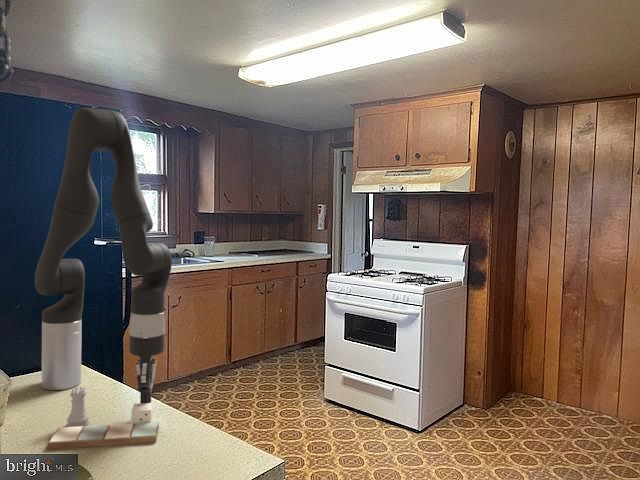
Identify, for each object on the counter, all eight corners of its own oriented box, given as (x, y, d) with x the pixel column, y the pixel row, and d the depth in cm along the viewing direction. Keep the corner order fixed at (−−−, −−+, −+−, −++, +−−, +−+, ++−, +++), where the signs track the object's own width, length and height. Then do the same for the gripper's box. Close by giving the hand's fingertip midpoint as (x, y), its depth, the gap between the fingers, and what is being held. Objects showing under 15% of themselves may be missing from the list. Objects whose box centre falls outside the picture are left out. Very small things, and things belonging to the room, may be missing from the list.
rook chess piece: (80, 431, 104) (80, 394, 103) (61, 428, 105) (62, 391, 104) (93, 422, 108) (94, 386, 108) (75, 420, 109) (76, 384, 109)
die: (133, 421, 110) (134, 403, 109) (152, 420, 111) (152, 402, 110) (131, 429, 106) (131, 410, 106) (150, 428, 107) (151, 409, 106)
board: (58, 433, 102) (58, 426, 102) (158, 427, 107) (158, 421, 107) (47, 449, 96) (47, 442, 96) (155, 442, 100) (156, 435, 100)
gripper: (133, 324, 116) (132, 396, 117) (125, 339, 103) (123, 420, 104) (166, 324, 118) (165, 395, 119) (162, 339, 105) (160, 418, 106)
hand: (145, 406), depth 112 cm, fingers closed
